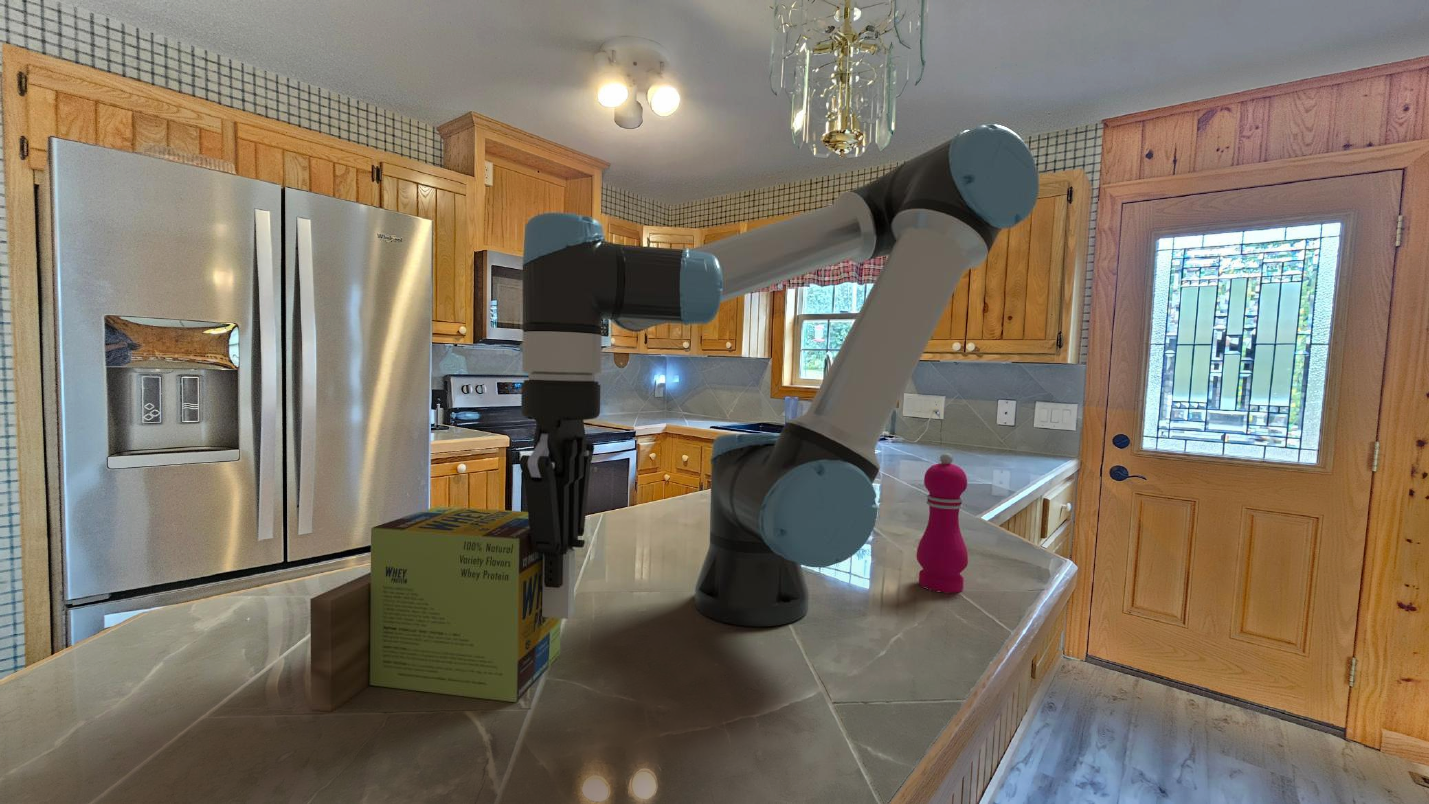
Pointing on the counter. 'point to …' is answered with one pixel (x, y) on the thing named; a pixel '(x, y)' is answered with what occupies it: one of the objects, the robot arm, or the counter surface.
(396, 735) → the counter surface
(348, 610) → the board
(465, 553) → the protein box
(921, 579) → the pepper mill
